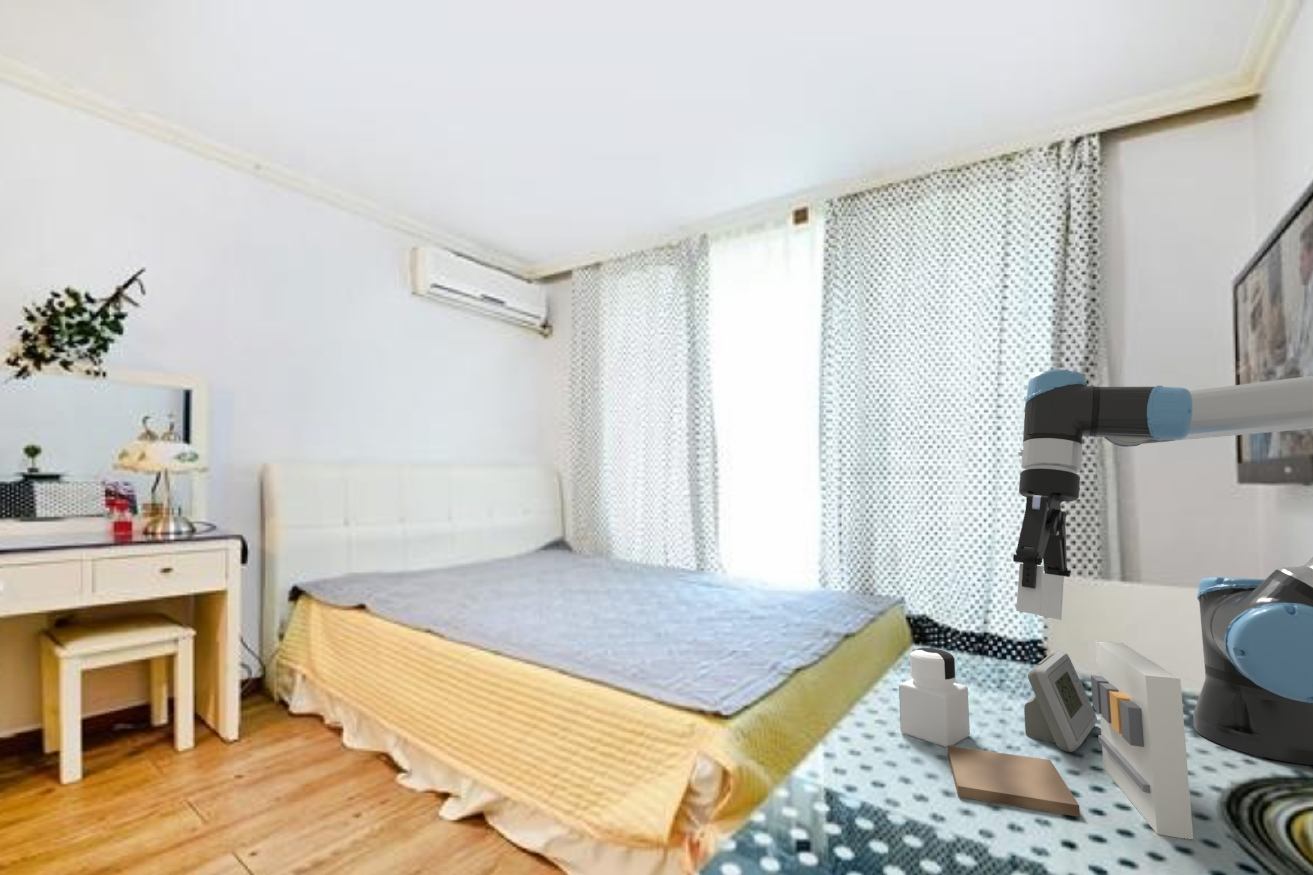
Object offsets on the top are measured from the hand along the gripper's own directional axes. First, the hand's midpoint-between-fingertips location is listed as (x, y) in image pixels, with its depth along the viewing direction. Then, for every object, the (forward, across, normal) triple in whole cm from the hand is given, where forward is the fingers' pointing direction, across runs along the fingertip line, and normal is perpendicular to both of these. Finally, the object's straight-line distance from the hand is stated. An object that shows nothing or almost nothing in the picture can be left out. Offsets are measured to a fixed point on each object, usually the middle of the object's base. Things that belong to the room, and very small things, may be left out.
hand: (1039, 615), depth 85 cm
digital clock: (+16, -10, +2) cm, 19 cm away
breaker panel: (+18, +6, +13) cm, 23 cm away
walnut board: (+21, +13, 0) cm, 24 cm away
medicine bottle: (+20, +4, -11) cm, 23 cm away
